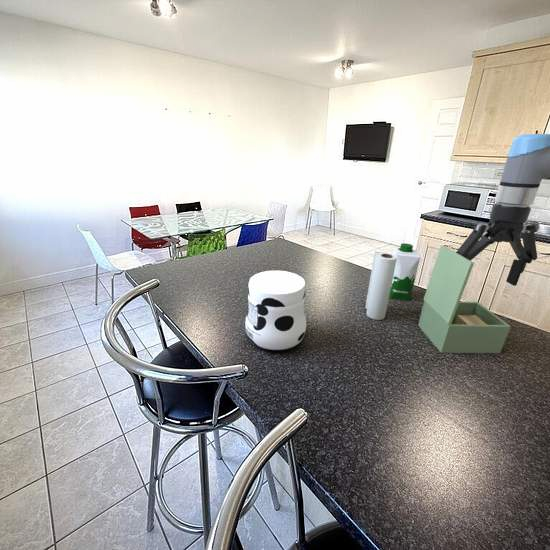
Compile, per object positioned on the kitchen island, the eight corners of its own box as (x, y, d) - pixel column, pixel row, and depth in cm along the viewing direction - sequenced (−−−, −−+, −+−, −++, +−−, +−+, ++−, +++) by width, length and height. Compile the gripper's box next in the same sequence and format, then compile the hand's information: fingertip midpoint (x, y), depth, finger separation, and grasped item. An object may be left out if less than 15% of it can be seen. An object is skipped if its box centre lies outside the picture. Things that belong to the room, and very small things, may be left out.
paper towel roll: (386, 321, 94) (399, 259, 86) (366, 319, 95) (377, 257, 87) (383, 310, 101) (394, 251, 92) (365, 308, 102) (375, 250, 93)
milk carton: (407, 293, 113) (418, 244, 105) (411, 304, 105) (424, 252, 97) (383, 290, 115) (393, 242, 107) (386, 301, 107) (396, 249, 99)
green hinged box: (469, 325, 93) (477, 301, 89) (500, 353, 81) (511, 326, 77) (417, 325, 93) (424, 300, 89) (440, 352, 80) (449, 325, 77)
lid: (443, 245, 82) (440, 245, 82) (474, 262, 70) (471, 262, 70) (425, 299, 89) (423, 299, 89) (451, 324, 76) (448, 324, 76)
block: (470, 330, 89) (475, 315, 87) (482, 342, 84) (488, 325, 82) (452, 330, 89) (457, 314, 87) (463, 342, 84) (469, 325, 81)
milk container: (311, 327, 90) (315, 274, 83) (295, 363, 75) (299, 301, 68) (259, 316, 95) (259, 265, 88) (235, 347, 80) (232, 289, 73)
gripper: (549, 202, 75) (520, 278, 83) (452, 201, 74) (433, 277, 83) (577, 207, 68) (543, 289, 76) (471, 206, 67) (448, 289, 76)
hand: (486, 283), depth 79 cm, fingers open, 13 cm apart
